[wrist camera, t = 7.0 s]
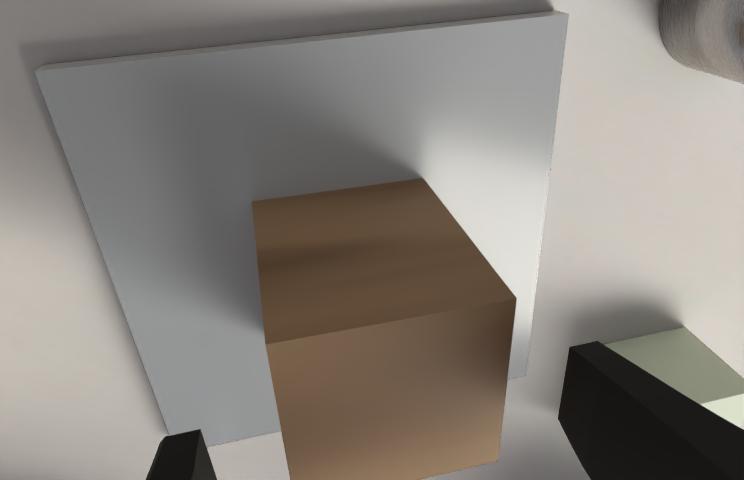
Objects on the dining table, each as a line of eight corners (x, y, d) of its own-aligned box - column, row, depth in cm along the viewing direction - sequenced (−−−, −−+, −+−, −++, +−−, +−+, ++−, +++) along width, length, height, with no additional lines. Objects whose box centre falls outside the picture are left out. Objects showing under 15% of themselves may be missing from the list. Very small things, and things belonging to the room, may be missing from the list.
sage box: (660, 397, 23) (723, 467, 20) (574, 418, 22) (627, 493, 20) (682, 324, 21) (756, 390, 18) (589, 345, 20) (650, 416, 17)
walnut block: (422, 312, 17) (498, 460, 12) (275, 339, 16) (295, 508, 11) (423, 178, 14) (516, 298, 10) (251, 201, 14) (265, 344, 9)
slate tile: (517, 364, 20) (526, 375, 19) (177, 439, 18) (176, 454, 17) (556, 10, 14) (568, 13, 13) (42, 64, 12) (34, 71, 11)
